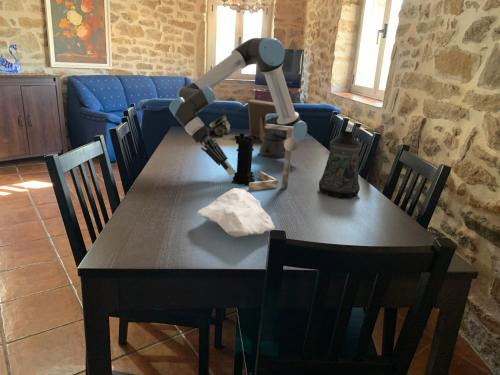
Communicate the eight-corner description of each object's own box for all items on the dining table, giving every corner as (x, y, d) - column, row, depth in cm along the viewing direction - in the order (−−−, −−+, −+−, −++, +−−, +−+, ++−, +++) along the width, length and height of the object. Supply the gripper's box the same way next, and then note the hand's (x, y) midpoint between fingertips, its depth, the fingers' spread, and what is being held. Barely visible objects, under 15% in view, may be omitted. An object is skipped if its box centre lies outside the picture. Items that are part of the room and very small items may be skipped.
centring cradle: (277, 177, 167) (282, 120, 159) (292, 189, 152) (299, 128, 144) (237, 178, 161) (241, 119, 153) (250, 191, 146) (254, 127, 138)
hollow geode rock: (219, 144, 245) (235, 129, 241) (205, 130, 241) (222, 115, 238) (222, 135, 271) (237, 122, 267) (210, 122, 268) (225, 108, 264)
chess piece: (254, 180, 160) (258, 135, 153) (249, 186, 152) (252, 138, 146) (237, 178, 162) (240, 132, 155) (231, 183, 154) (233, 135, 148)
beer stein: (335, 201, 142) (345, 137, 134) (306, 185, 158) (313, 127, 150) (367, 197, 150) (378, 136, 141) (336, 182, 166) (344, 127, 158)
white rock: (189, 245, 98) (195, 214, 95) (200, 198, 131) (205, 174, 128) (275, 261, 100) (283, 231, 97) (264, 210, 133) (270, 187, 130)
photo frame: (253, 134, 261) (255, 98, 253) (280, 139, 251) (283, 102, 242) (241, 137, 249) (243, 100, 241) (269, 143, 239) (272, 104, 230)
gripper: (197, 133, 162) (231, 175, 164) (185, 138, 150) (221, 183, 152) (209, 123, 160) (243, 165, 161) (197, 127, 148) (234, 173, 149)
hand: (233, 174), depth 157 cm, fingers closed
